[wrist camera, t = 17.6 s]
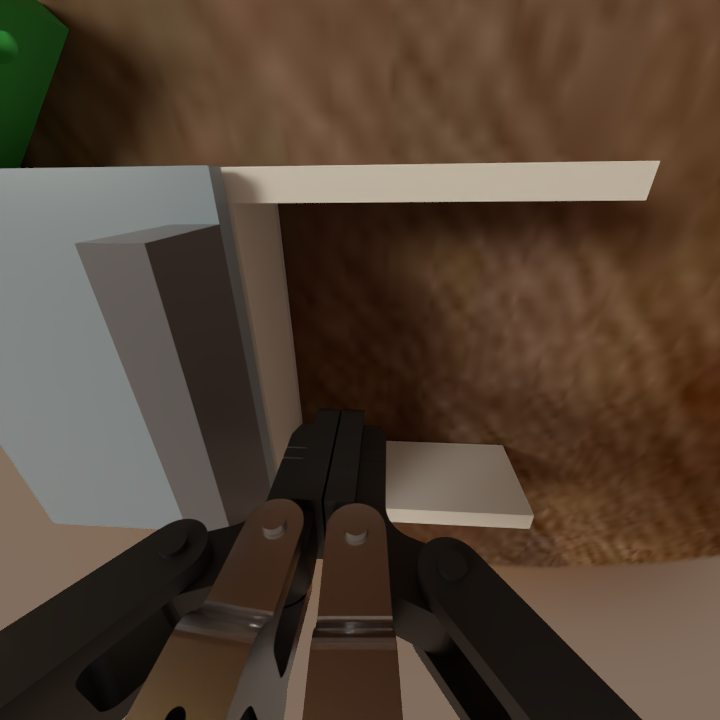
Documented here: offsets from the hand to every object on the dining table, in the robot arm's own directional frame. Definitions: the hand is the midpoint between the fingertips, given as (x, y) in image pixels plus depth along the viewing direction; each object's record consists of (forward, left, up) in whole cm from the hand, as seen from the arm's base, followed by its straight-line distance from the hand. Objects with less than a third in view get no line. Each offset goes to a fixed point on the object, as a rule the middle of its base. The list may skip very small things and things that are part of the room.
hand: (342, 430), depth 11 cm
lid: (+10, 0, -2) cm, 10 cm away
